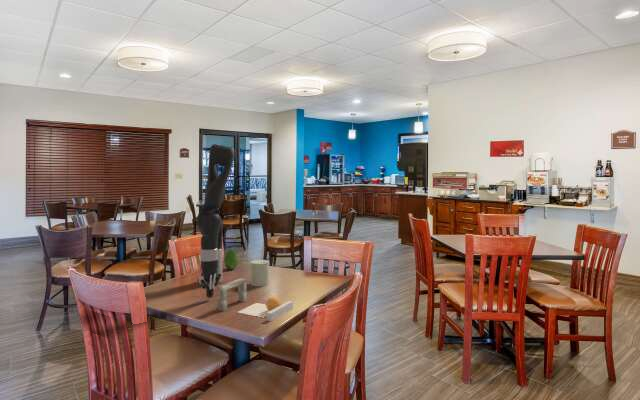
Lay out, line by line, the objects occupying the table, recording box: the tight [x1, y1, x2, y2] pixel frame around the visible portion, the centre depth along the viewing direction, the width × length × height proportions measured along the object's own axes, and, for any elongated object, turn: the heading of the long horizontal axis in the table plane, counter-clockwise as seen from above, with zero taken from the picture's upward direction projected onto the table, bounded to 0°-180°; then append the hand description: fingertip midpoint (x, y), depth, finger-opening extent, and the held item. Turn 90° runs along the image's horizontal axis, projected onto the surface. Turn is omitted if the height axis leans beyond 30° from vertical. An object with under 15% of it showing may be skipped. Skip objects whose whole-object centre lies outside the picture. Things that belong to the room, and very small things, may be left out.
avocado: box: [223, 248, 239, 270], centre depth 231 cm, size 8×8×12 cm
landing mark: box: [236, 302, 269, 319], centre depth 161 cm, size 13×13×1 cm
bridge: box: [217, 277, 248, 312], centre depth 167 cm, size 3×15×10 cm, turn 153°
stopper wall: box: [266, 300, 294, 322], centre depth 156 cm, size 2×16×3 cm, turn 153°
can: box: [250, 259, 270, 287], centre depth 199 cm, size 9×9×12 cm
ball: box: [265, 296, 282, 311], centre depth 159 cm, size 6×6×6 cm
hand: (210, 297), depth 173 cm, fingers closed
